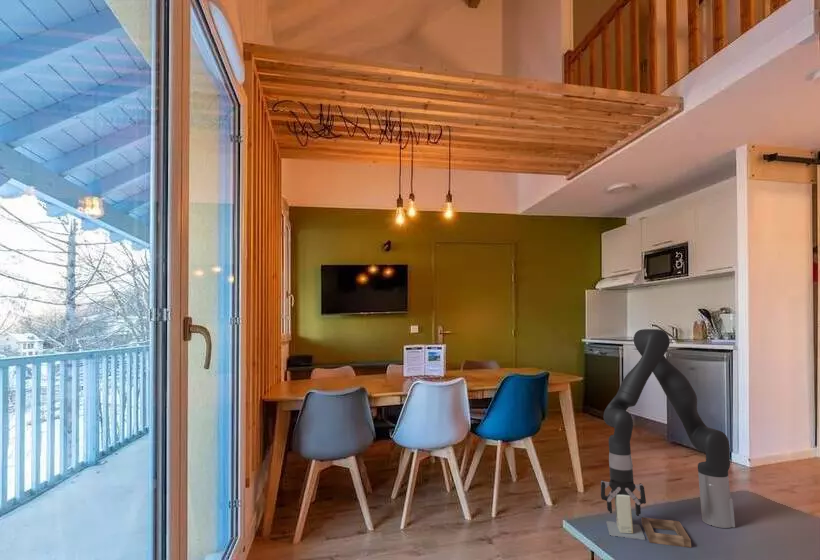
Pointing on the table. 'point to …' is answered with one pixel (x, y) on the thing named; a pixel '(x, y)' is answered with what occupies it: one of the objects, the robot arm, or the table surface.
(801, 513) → the table surface
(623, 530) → the skincare box
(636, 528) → the slate mat
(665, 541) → the frame
